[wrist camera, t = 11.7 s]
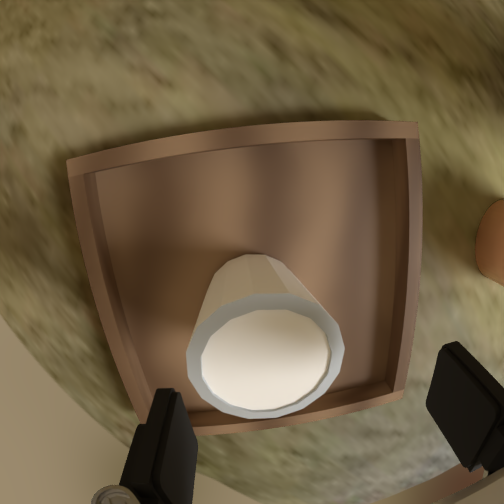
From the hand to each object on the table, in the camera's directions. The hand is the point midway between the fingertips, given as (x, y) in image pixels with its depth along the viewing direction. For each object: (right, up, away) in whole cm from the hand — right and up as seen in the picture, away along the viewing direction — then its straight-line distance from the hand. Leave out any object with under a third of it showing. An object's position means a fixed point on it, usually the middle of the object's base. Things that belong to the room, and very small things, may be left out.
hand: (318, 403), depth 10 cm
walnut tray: (-2, +3, +10) cm, 11 cm away
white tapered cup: (-2, +2, +10) cm, 10 cm away
